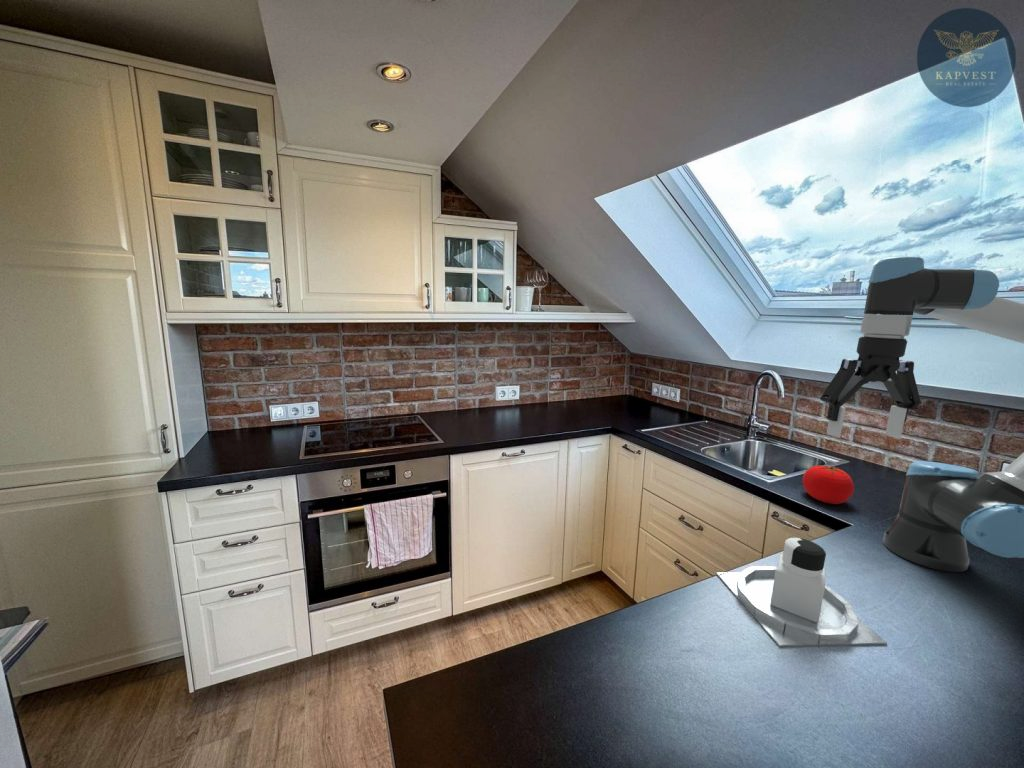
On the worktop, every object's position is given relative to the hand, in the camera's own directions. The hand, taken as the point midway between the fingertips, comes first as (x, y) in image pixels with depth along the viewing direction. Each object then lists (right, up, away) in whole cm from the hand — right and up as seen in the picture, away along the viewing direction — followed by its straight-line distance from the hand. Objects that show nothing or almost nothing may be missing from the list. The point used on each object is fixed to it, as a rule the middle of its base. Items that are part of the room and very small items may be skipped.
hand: (863, 436), depth 89 cm
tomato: (+23, -25, +42) cm, 55 cm away
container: (-19, -33, -6) cm, 38 cm away
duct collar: (-19, -33, -6) cm, 39 cm away
